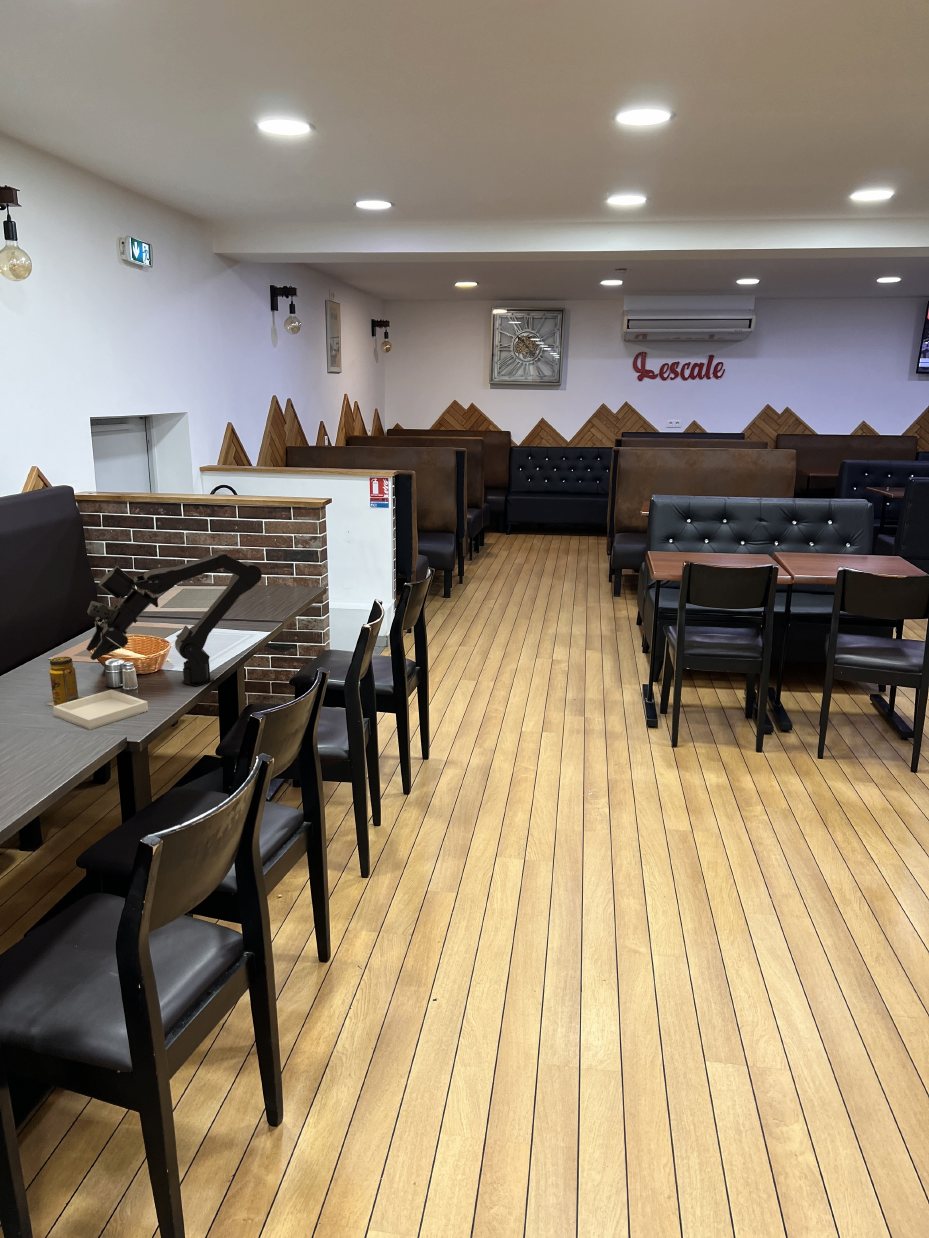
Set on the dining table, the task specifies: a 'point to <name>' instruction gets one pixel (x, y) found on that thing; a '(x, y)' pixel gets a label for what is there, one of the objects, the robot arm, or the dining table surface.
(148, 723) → the dining table surface
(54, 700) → the condiment
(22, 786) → the dining table surface
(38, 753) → the dining table surface
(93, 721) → the tray
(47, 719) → the dining table surface
